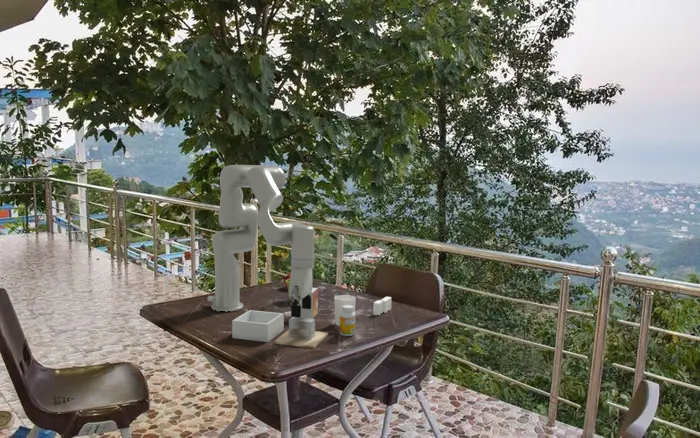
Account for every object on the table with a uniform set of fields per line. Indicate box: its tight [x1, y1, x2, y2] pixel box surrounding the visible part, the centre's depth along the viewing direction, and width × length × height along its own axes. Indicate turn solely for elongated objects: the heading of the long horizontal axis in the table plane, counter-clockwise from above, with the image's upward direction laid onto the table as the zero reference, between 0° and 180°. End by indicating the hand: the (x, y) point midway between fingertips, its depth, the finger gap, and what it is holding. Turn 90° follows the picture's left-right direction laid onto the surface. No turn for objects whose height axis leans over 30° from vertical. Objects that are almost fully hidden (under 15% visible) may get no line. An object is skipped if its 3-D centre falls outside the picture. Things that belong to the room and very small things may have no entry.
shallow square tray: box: [231, 309, 285, 343], centre depth 175 cm, size 13×13×6 cm
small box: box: [300, 287, 319, 319], centre depth 197 cm, size 8×6×10 cm
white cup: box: [333, 294, 357, 327], centre depth 188 cm, size 8×8×10 cm
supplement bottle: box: [339, 305, 357, 337], centre depth 177 cm, size 5×5×10 cm
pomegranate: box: [283, 272, 291, 289], centre depth 241 cm, size 10×10×9 cm
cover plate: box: [273, 317, 329, 349], centre depth 171 cm, size 14×14×7 cm
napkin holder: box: [372, 296, 392, 316], centre depth 205 cm, size 15×11×6 cm
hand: (301, 312), depth 171 cm, fingers open, 9 cm apart
